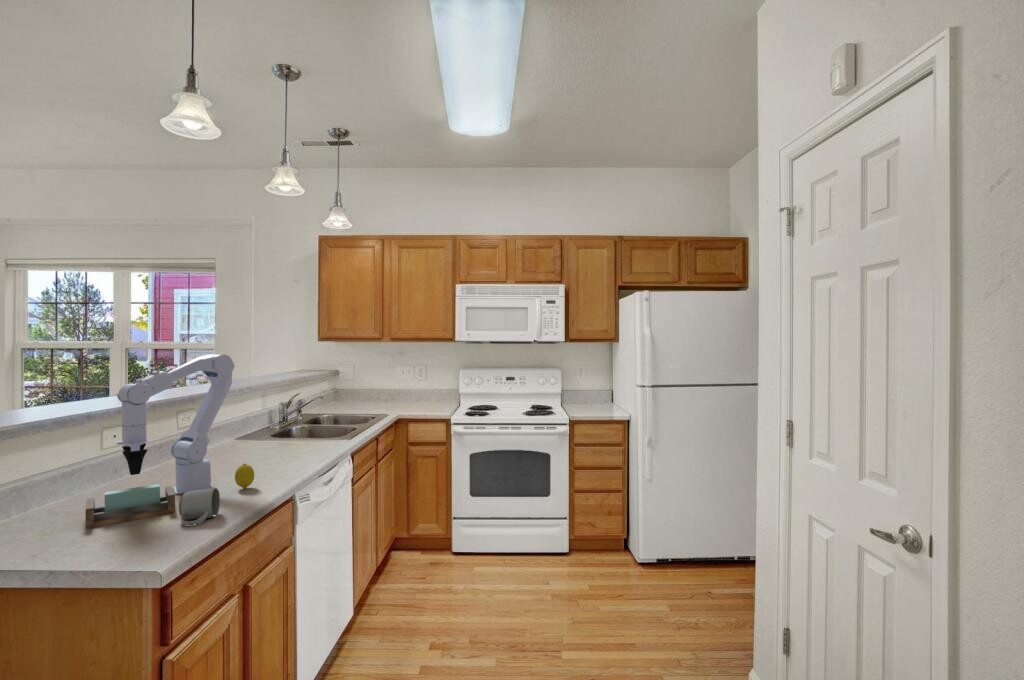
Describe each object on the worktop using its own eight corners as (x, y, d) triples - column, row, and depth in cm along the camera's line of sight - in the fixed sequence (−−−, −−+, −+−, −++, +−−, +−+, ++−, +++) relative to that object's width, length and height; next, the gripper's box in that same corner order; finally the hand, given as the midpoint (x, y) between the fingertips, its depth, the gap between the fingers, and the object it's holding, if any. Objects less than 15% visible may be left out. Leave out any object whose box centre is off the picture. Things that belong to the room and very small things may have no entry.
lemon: (246, 491, 158) (245, 466, 158) (230, 490, 159) (230, 465, 159) (258, 486, 164) (258, 461, 164) (243, 485, 165) (243, 461, 165)
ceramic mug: (187, 514, 139) (187, 486, 138) (220, 511, 141) (220, 483, 141) (172, 529, 128) (171, 499, 128) (208, 526, 131) (208, 496, 130)
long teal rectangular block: (159, 505, 143) (159, 483, 143) (160, 507, 141) (159, 486, 141) (105, 514, 136) (104, 492, 136) (104, 517, 133) (104, 495, 133)
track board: (172, 502, 148) (171, 485, 148) (175, 512, 140) (175, 494, 140) (87, 517, 136) (87, 499, 136) (85, 528, 128) (85, 509, 128)
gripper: (116, 423, 150) (117, 468, 150) (116, 430, 139) (117, 479, 139) (145, 420, 155) (146, 464, 155) (148, 427, 143) (149, 475, 143)
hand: (134, 471), depth 147 cm, fingers open, 7 cm apart
